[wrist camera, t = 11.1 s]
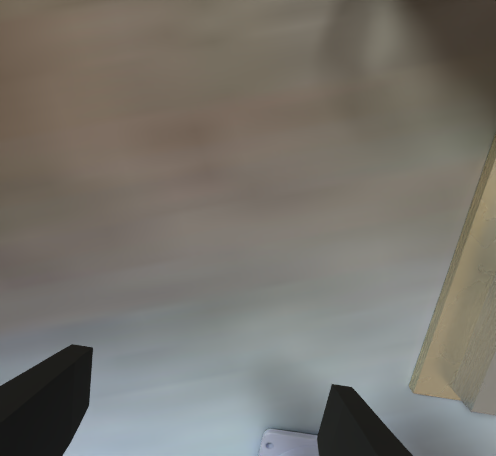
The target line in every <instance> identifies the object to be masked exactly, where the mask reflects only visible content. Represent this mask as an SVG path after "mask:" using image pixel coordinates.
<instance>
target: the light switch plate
mask: <svg viewBox="0 0 496 456" xmlns="http://www.w3.org/2000/svg"><path fill="white" fill-rule="evenodd" d="M409 387H410V389H411V390H412V392H413V393H415V394H422V395H428V396H435V397H441V398H448V399H454V400H461V401H463V403H464V404H465V405H466V406H467V407H468V408H469V410H470V411H471V412H478V413H484V414H491V415H496V134H495V137H494V140H493V143H492V146H491V149H490V152H489V154H488V157H487V160H486V163H485V166H484V169H483V172H482V175H481V178H480V181H479V183H478V186H477V189H476V192H475V195H474V198H473V201H472V204H471V207H470V210H469V213H468V215H467V218H466V221H465V224H464V227H463V230H462V233H461V236H460V239H459V242H458V244H457V247H456V250H455V253H454V256H453V259H452V262H451V265H450V268H449V271H448V274H447V276H446V279H445V282H444V285H443V288H442V291H441V294H440V297H439V300H438V303H437V305H436V308H435V311H434V314H433V317H432V320H431V323H430V326H429V329H428V332H427V335H426V337H425V340H424V343H423V346H422V349H421V352H420V355H419V358H418V361H417V364H416V366H415V369H414V372H413V375H412V378H411V381H410V384H409Z"/></svg>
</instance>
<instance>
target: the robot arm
mask: <svg viewBox="0 0 496 456" xmlns="http://www.w3.org/2000/svg"><path fill="white" fill-rule="evenodd" d="M92 353H93V348H92V347H86V346H79V345H73V344H72V345H70V346H68V347H66V348H65V349H63V350H61V351H59V352H58V353H56V354H54V355H53V356H51V357H49V358H48V359H46V360H44V361H43V362H41V363H39V364H37V365H36V366H34V367H32V368H31V369H29V370H27V371H25V372H24V373H22V374H20V375H19V376H17V377H15V378H13V379H12V380H10V381H8V382H6V383H5V384H3V385H1V386H0V456H62V455H63V454H64V452H65V451H66V449H67V447H68V446H69V444H70V443H71V441H72V439H73V437H74V435H75V433H76V431H77V429H78V427H79V425H80V423H81V421H82V419H83V417H84V415H85V413H86V411H87V409H88V406H89V398H90V383H91V368H92ZM268 443H271V444H268ZM258 456H413V455H412V454H411V453H410V452H409V451H408V450H407V449H406V448H405V447H404V446H403V444H402V443H401V442H400V441H399V440H398V439H397V438H396V437H395V436H394V434H393V433H392V432H391V431H390V430H389V429H388V428H387V426H386V425H385V424H384V423H383V422H382V421H381V420H380V418H379V417H378V416H377V415H376V414H375V413H374V412H373V410H372V409H371V408H370V407H369V406H368V405H367V403H366V402H365V401H364V400H363V399H362V398H361V397H360V396H359V394H358V393H357V392H356V391H355V390H354V389H353V388H352V387H348V386H341V385H334V384H332V386H331V390H330V393H329V397H328V401H327V404H326V408H325V411H324V415H323V419H322V422H321V426H320V429H319V433H318V435H311V434H304V433H297V432H291V431H284V430H277V429H267V430H266V431H264V433H263V437H262V441H261V446H260V450H259V455H258Z"/></svg>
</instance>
